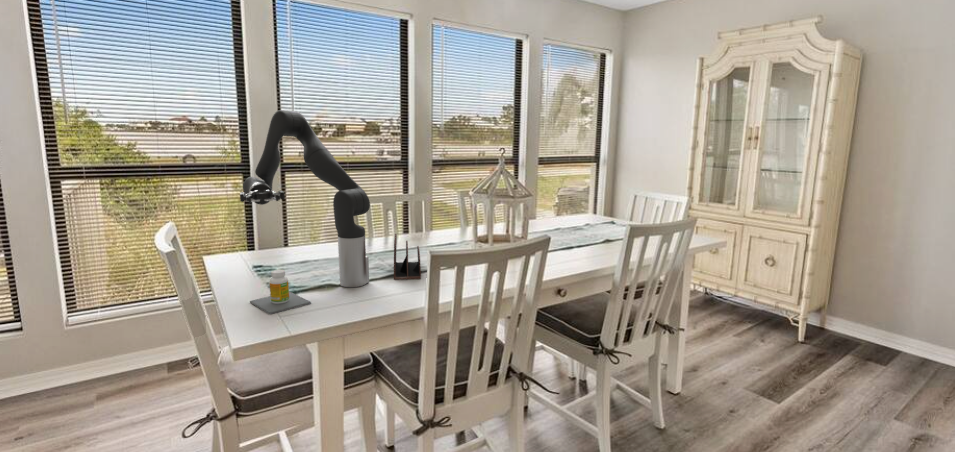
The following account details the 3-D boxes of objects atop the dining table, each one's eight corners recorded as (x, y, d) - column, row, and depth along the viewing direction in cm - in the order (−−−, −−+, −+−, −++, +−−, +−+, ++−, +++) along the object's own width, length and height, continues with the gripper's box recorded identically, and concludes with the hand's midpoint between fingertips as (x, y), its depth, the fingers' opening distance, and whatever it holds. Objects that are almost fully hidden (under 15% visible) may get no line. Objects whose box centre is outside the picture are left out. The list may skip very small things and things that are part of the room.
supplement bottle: (283, 304, 154) (281, 274, 152) (267, 303, 155) (265, 273, 153) (292, 299, 159) (290, 269, 157) (277, 297, 160) (275, 268, 158)
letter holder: (393, 280, 182) (392, 242, 179) (394, 265, 201) (393, 231, 198) (421, 279, 183) (420, 241, 180) (419, 264, 202) (419, 230, 199)
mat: (289, 293, 166) (289, 291, 166) (310, 303, 157) (310, 301, 156) (249, 302, 157) (249, 300, 157) (270, 314, 147) (269, 312, 147)
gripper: (238, 183, 180) (239, 188, 166) (280, 181, 186) (285, 186, 172) (240, 204, 181) (241, 211, 167) (282, 201, 188) (286, 208, 173)
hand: (263, 198), depth 170 cm, fingers open, 8 cm apart
